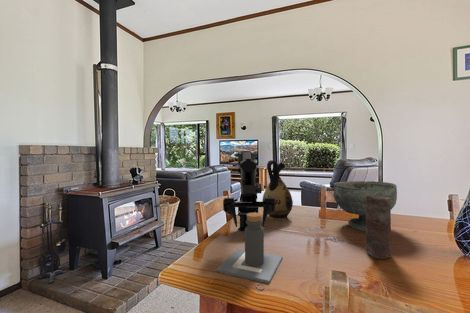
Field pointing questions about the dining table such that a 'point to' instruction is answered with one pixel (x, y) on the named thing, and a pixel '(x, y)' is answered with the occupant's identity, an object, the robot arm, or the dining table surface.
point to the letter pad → (240, 269)
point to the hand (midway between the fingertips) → (249, 226)
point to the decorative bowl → (361, 198)
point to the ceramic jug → (278, 192)
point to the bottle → (254, 240)
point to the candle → (378, 226)
